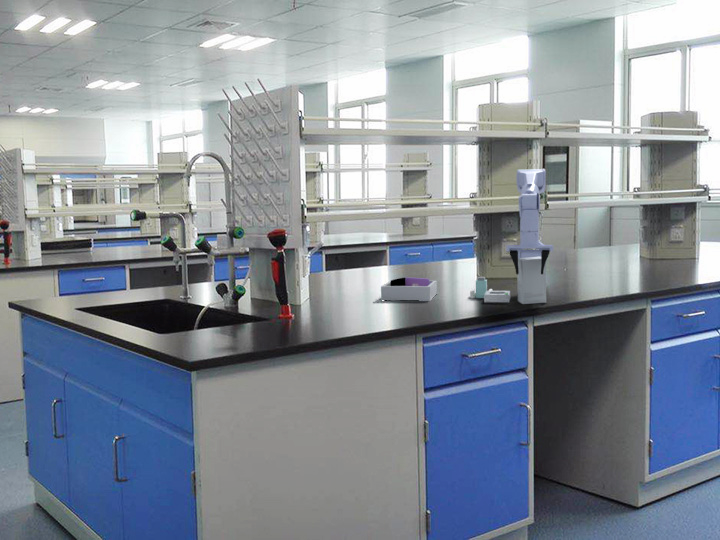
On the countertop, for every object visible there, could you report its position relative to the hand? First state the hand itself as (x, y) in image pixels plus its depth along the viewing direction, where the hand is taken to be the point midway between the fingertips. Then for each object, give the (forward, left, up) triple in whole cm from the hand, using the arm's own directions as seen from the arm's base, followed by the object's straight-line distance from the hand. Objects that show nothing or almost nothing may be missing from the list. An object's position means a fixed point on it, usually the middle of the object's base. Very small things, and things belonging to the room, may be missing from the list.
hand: (529, 274), depth 243 cm
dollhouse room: (-16, -42, -11) cm, 46 cm away
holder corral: (-16, -42, -10) cm, 46 cm away
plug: (-18, -17, -10) cm, 26 cm away
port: (-9, -11, -10) cm, 17 cm away
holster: (-18, -17, -10) cm, 26 cm away
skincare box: (-6, 0, -10) cm, 12 cm away
